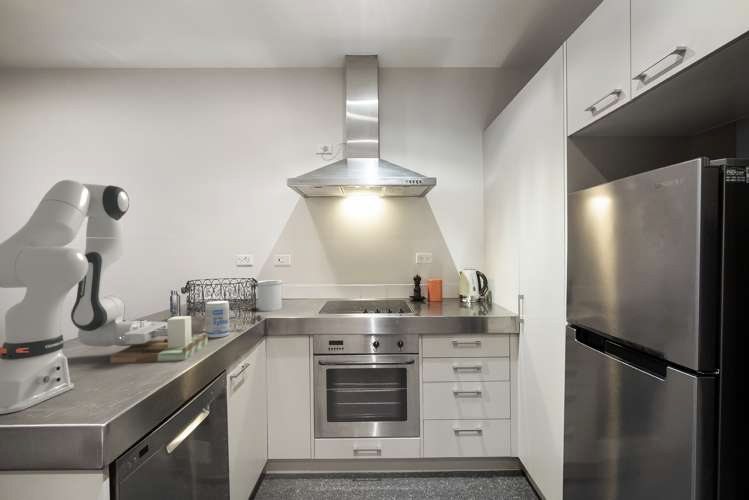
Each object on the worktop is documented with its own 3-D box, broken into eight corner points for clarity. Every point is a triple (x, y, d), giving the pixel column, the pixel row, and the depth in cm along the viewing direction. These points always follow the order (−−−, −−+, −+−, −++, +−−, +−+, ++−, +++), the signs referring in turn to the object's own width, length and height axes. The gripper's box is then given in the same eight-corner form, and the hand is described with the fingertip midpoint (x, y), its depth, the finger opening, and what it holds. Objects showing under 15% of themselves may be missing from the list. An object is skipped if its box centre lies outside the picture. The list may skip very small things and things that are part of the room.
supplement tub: (215, 339, 154) (214, 304, 154) (200, 337, 159) (200, 302, 159) (234, 334, 163) (233, 301, 163) (220, 332, 167) (219, 299, 167)
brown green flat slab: (185, 359, 126) (185, 348, 126) (110, 363, 124) (110, 351, 123) (207, 343, 148) (207, 333, 148) (144, 346, 145) (143, 335, 145)
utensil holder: (278, 311, 221) (278, 282, 221) (254, 311, 221) (253, 282, 221) (285, 307, 236) (284, 279, 236) (262, 307, 236) (261, 280, 236)
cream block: (185, 346, 134) (184, 318, 134) (167, 347, 133) (167, 319, 133) (191, 342, 140) (191, 315, 140) (174, 343, 139) (174, 316, 139)
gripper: (113, 330, 124) (157, 329, 126) (144, 319, 145) (181, 317, 146) (114, 349, 124) (157, 347, 126) (145, 335, 145) (182, 333, 146)
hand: (171, 331), depth 136 cm, fingers closed, pressing on cream block
